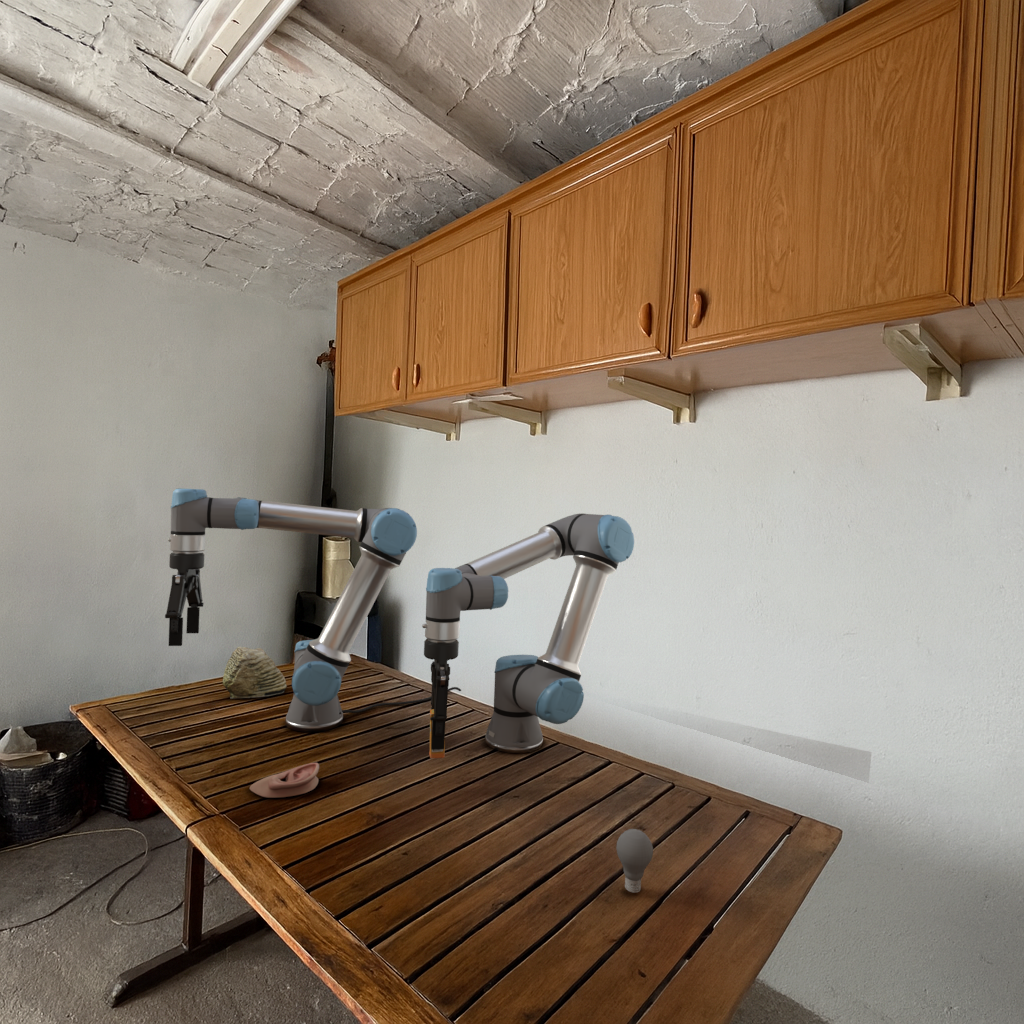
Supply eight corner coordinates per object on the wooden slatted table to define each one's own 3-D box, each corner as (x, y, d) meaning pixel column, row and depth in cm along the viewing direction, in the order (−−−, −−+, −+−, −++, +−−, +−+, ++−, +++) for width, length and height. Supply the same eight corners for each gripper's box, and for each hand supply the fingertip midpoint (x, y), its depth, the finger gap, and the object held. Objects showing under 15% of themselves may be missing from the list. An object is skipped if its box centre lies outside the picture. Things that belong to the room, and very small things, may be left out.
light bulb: (610, 879, 108) (613, 822, 108) (644, 879, 109) (647, 822, 109) (619, 902, 102) (622, 840, 102) (655, 901, 103) (658, 840, 103)
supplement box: (427, 753, 141) (429, 708, 140) (443, 752, 141) (445, 708, 141) (428, 759, 137) (430, 713, 137) (444, 758, 138) (446, 712, 138)
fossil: (218, 695, 195) (220, 647, 195) (278, 685, 208) (279, 640, 207) (228, 703, 189) (230, 653, 188) (289, 692, 201) (290, 645, 201)
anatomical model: (241, 775, 133) (272, 754, 144) (240, 794, 133) (272, 771, 144) (299, 783, 130) (326, 761, 142) (298, 802, 130) (325, 779, 142)
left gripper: (186, 547, 165) (183, 628, 166) (152, 556, 141) (148, 651, 141) (217, 548, 167) (214, 628, 167) (188, 557, 142) (185, 651, 143)
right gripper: (422, 631, 146) (417, 732, 146) (427, 647, 130) (422, 761, 130) (454, 631, 148) (450, 731, 148) (463, 647, 132) (458, 759, 132)
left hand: (184, 639), depth 154 cm, fingers open, 13 cm apart
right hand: (436, 744), depth 139 cm, fingers closed on supplement box, 3 cm apart
